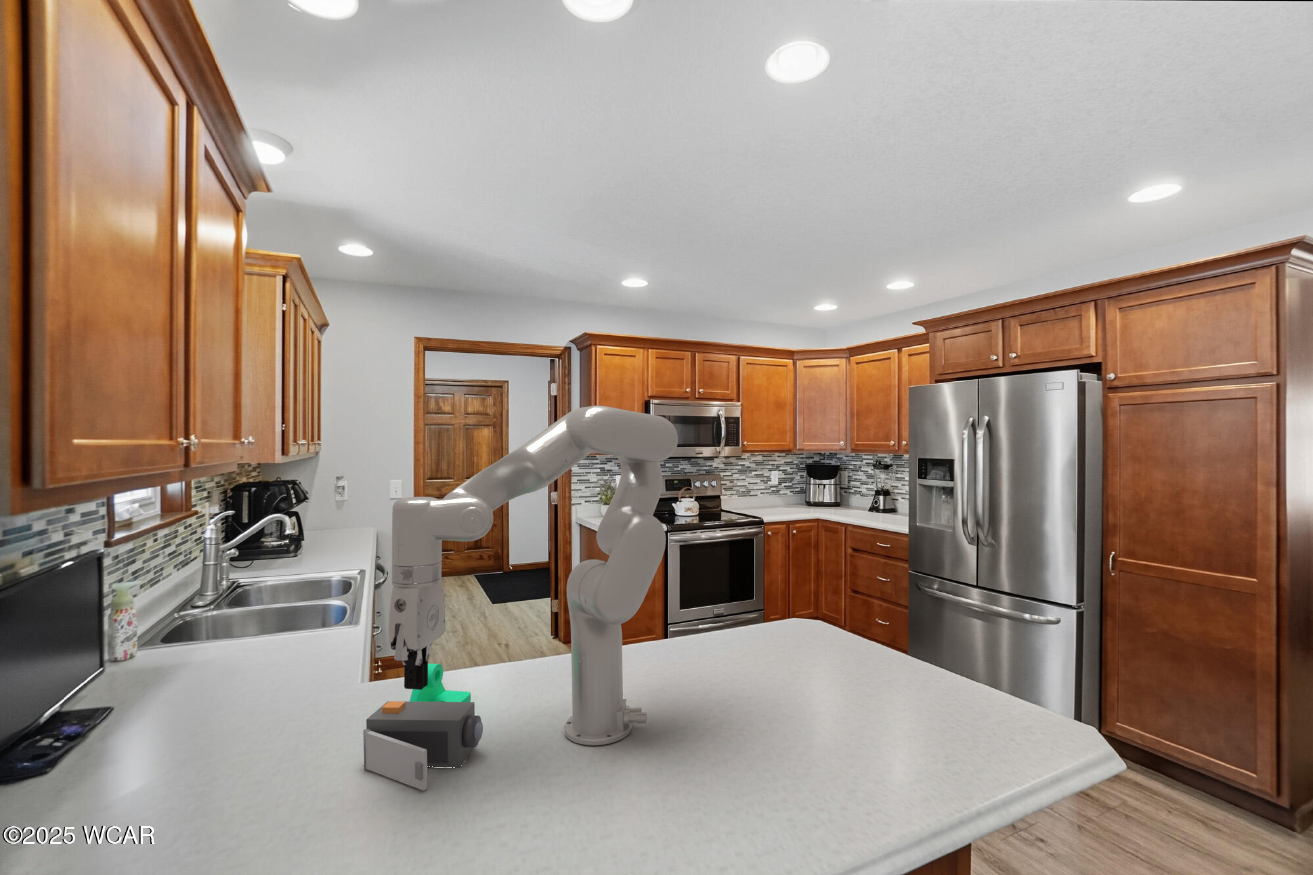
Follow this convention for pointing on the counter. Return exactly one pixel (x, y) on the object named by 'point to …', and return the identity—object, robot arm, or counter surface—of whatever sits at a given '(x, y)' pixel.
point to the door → (395, 759)
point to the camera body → (431, 728)
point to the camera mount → (438, 689)
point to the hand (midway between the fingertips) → (416, 687)
